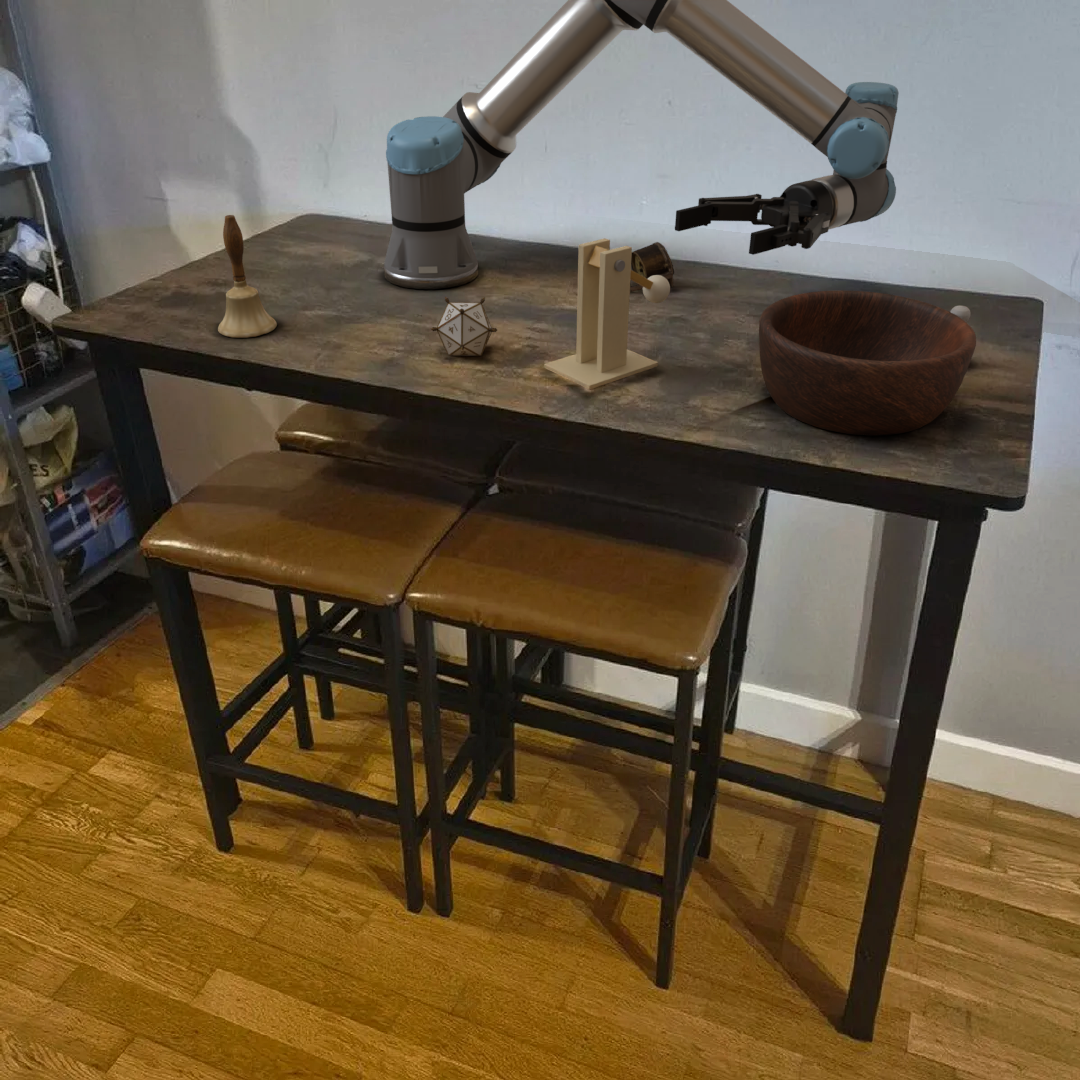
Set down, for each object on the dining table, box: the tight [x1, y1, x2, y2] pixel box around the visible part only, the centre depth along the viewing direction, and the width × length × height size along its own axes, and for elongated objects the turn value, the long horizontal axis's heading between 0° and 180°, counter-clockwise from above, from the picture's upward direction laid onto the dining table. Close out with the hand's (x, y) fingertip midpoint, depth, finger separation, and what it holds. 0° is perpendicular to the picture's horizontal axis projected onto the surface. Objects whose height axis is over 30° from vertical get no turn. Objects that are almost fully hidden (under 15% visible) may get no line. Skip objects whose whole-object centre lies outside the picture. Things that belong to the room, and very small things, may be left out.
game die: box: [430, 296, 498, 357], centre depth 142 cm, size 9×8×10 cm
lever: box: [588, 246, 671, 304], centre depth 136 cm, size 14×4×4 cm
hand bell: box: [217, 214, 278, 339], centre depth 149 cm, size 8×8×16 cm
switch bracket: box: [543, 238, 659, 391], centre depth 135 cm, size 12×9×17 cm
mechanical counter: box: [630, 241, 675, 292], centre depth 166 cm, size 7×13×10 cm
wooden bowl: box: [758, 289, 977, 437], centre depth 129 cm, size 25×25×10 cm
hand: (713, 232), depth 143 cm, fingers open, 13 cm apart
